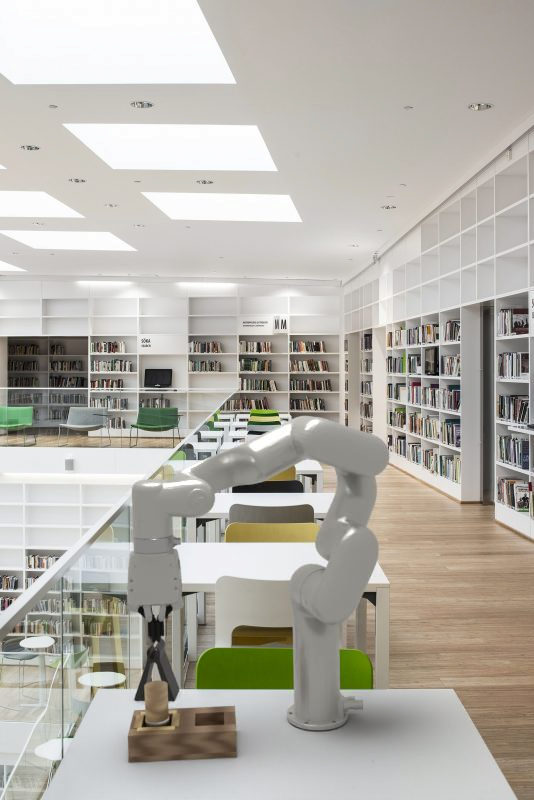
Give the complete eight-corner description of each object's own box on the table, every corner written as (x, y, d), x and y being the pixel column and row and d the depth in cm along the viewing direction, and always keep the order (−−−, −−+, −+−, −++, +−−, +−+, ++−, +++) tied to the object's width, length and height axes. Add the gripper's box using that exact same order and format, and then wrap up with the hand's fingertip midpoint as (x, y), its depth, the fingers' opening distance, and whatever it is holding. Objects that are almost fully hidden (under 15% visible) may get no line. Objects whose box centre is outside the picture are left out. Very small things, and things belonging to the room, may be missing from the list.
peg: (170, 735, 153) (168, 679, 153) (169, 746, 149) (167, 689, 148) (147, 737, 153) (144, 681, 152) (145, 748, 148) (143, 690, 148)
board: (235, 730, 157) (234, 704, 157) (236, 757, 146) (236, 729, 146) (134, 735, 156) (134, 709, 156) (128, 762, 145) (127, 734, 145)
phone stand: (179, 690, 178) (178, 637, 177) (174, 701, 172) (173, 647, 171) (140, 689, 178) (139, 637, 178) (134, 700, 172) (132, 646, 172)
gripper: (193, 539, 154) (196, 631, 154) (116, 542, 153) (119, 635, 153) (192, 547, 146) (195, 645, 147) (111, 550, 145) (114, 648, 146)
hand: (156, 639), depth 150 cm, fingers closed
